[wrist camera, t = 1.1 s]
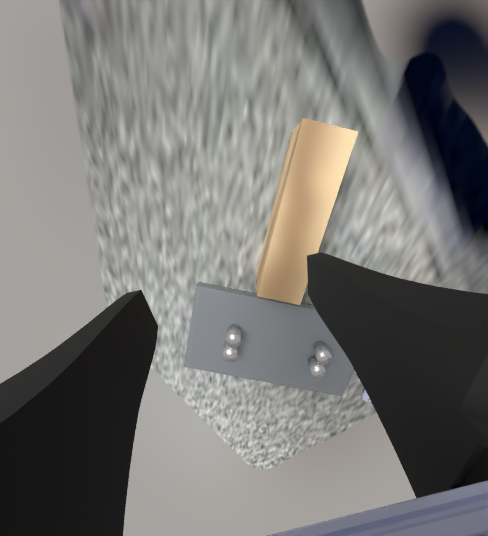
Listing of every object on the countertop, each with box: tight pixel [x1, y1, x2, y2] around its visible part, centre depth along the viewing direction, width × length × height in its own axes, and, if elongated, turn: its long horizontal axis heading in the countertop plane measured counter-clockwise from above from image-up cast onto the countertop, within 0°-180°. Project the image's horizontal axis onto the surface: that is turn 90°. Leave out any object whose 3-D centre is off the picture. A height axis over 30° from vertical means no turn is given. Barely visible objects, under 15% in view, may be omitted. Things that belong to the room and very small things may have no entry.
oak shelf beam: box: [256, 118, 358, 305], centre depth 21 cm, size 4×14×5 cm, turn 168°
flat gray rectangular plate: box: [184, 282, 354, 396], centre depth 26 cm, size 20×11×3 cm, turn 78°
